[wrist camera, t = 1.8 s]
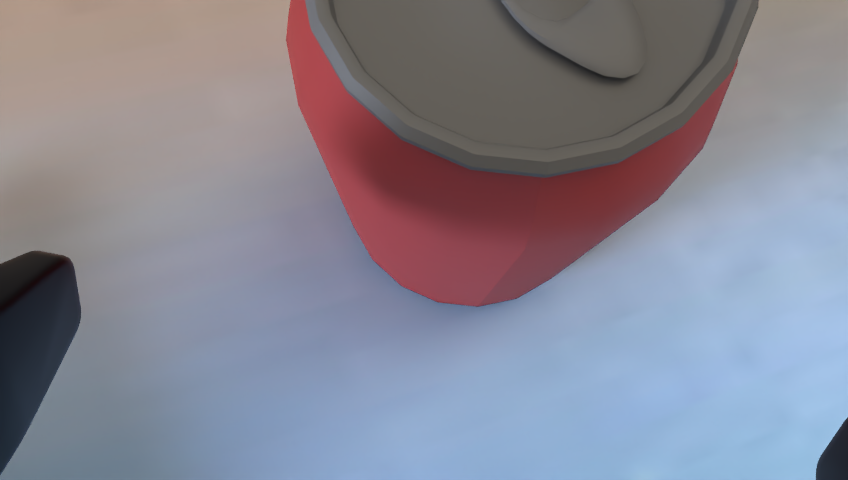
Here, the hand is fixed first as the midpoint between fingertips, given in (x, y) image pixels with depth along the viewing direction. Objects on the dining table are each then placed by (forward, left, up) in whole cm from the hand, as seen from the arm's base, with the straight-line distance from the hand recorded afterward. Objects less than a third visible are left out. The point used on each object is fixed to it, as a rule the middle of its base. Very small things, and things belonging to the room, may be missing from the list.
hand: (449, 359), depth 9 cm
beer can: (+4, -3, -12) cm, 13 cm away
